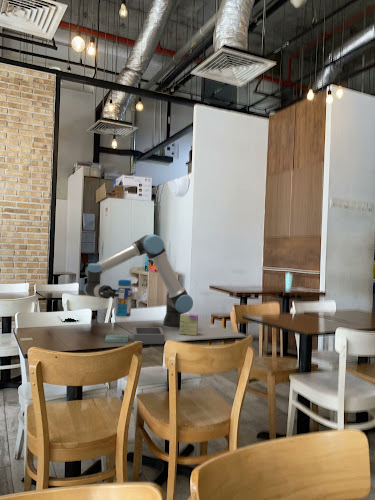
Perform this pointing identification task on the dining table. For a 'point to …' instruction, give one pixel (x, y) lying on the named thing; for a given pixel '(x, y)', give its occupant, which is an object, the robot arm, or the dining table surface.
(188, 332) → the box
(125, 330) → the dining table surface
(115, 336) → the board
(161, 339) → the gray rectangular frame
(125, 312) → the beverage bottle
